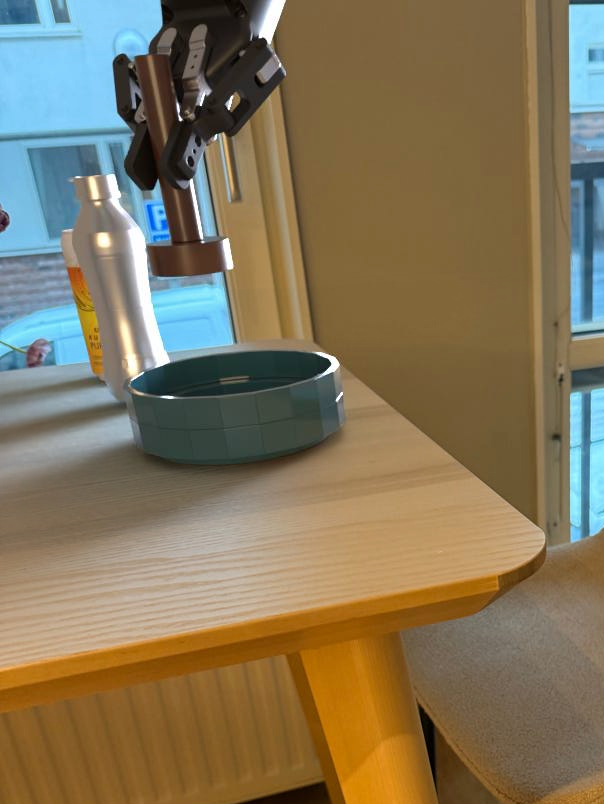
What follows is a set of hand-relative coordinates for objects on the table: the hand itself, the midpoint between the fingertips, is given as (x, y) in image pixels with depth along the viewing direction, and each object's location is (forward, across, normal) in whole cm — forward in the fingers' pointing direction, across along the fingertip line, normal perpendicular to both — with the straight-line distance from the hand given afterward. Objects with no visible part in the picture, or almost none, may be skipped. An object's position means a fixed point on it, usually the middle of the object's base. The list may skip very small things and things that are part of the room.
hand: (155, 180), depth 61 cm
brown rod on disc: (+3, 0, +6) cm, 6 cm away
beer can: (-4, -32, +32) cm, 45 cm away
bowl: (+8, -3, +20) cm, 22 cm away
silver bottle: (+3, -21, +26) cm, 33 cm away
